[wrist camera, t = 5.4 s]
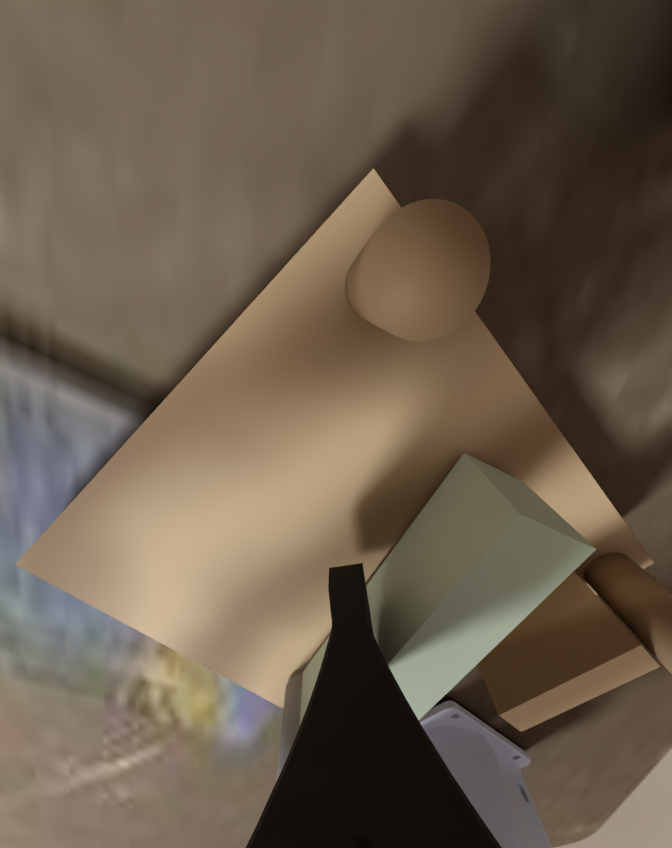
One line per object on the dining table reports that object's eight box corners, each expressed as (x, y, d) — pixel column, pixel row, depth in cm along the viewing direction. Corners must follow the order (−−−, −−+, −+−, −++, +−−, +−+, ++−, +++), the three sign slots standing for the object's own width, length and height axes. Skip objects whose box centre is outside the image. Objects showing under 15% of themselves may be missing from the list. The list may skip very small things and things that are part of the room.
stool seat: (610, 528, 14) (799, 679, 8) (336, 692, 18) (341, 869, 12) (363, 195, 9) (427, 24, 3) (59, 526, 13) (-141, 698, 7)
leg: (332, 714, 15) (334, 829, 12) (275, 699, 14) (260, 817, 11) (529, 484, 10) (623, 569, 7) (456, 448, 10) (522, 524, 6)
